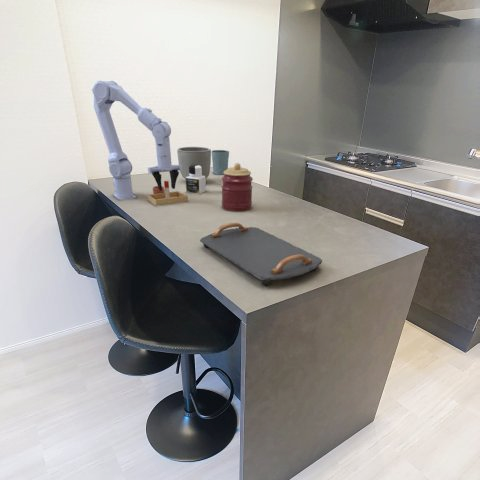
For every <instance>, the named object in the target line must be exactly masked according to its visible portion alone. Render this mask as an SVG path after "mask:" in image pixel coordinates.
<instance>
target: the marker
mask: <svg viewBox="0 0 480 480" xmlns="http://www.w3.org/2000/svg"><path fill="white" fill-rule="evenodd" d="M169 182H170V181H169V180H164V181H163V185H164V186H163V187H165V194H166V199H167V198H170V195H169V192H170V184H169Z"/></svg>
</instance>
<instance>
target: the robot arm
mask: <svg viewBox="0 0 480 480" xmlns="http://www.w3.org/2000/svg"><path fill="white" fill-rule="evenodd" d="M91 91H92V94H93V109H94V112H95V115H96V117H97V121H98V123H99V126H100V130H101V133H102V135H103V138H104V141H105V144H106V147H107V150H108V153H109V156H108V159H107V161H108V170H109V173H110V174H111V176H112V178H113V183H112V184H113V187H114V188H113V189H114V193H113V197H115V198H116V199H118V200H127V199H135V198H137V196H136V195H135V194H134V189H133V183H132V174H131V173H132V171H133V164H132V162H131V161H130V159H129V158H128V155H127V154H126V153H125V152H124V151H123V148H122V146H121V142H120V139H119V136H118V133H117V130H116V127H115V124H114V121H113V117H112V114H111V111H110V110H111V108H112V106H113V104H114V103H115V102H120V103H121V104H123V105H124V106H125V107H126V108H127V109H129V110H130V111H131V112H132V113H134V114H135V115H137V120H138V121H139V122H140V123H141V124H142V125H143V126H144V127H146V128H147V129H148V130H149V131H150V132H151V134H152V136H153V138H154V140H155V149H156V161H157V165H155V166H152V167H147V173H148V174H151V175H152V177H153V178H154V181H155V182H156V186H158V188H159V190H160V191H161V190H162V186H163V185H162V174H161V173H165V172H169V177H170V185H171V189H172V190H175V189H176V183H177V180H178V177H179V174H180V171H181V170H182V166H181V165H179V164H172V153H171V141H170V136H171V134H172V128H171V126H170V124H169V123H168V122H167V121H162V118H161V117H158V116H157V115H156V114H155V113H153V110H152V109H151V108H148V107H142V106H141V105H140V104H139V103H138V102H137V101H136V100H135V99H134V98H133V97H132V96H131V95H130V94H129V93H128V92H127V91H125V90H124V88H123V87H122V86H121V85H119V84H118V83H117V82H116V81H114V80H96V81H95V83H94V85H93V86H92V89H91Z"/></svg>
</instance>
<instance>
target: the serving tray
mask: <svg viewBox="0 0 480 480" xmlns="http://www.w3.org/2000/svg"><path fill="white" fill-rule="evenodd" d="M199 242H200V243H201V244H203V247H204V248H205V249H208V248H209V249H211V250H212V251H214V252H216V253H217V254H219V255H220V256H222V257H224V258H225V259H226V260H228V261H230V262H232V264H234V265H236V266H238V267H239V268H241V269H242V270H244V271H245V272H247V273H249V274H250V275H252V276H253V277H255V278H257V279H258V280H259V281H261V284H262V286H263V287H268V286H269V285H270V284H271V281H277V280H283V279H284V280H285V279H289V278H294V277H297V276H301V275H305V274H307V273H309V272H311V271H317V270H318V269H319V266H320V265H321V264H322V263H323V259H322V258H321V257H319V256H317V255H315V254H313V253H310V252H308V251H306V250H305V249H302V248H301V247H299V246H296V245H293V243H290V242H288V241H286V240H284V239H282V238H279V237H278V236H276V235H274V234H271V233H269V232H267V231H265V230H263V229H260V228H259V227H254V226H249V227H247V226H243V225H242V224H241V223H239V222H229V223H224V224H223V225H220V226H219V227H218V228H216V230H215V231H214V232H212V233H210V234H208V235H205V236H203V237H201V238H200V239H199Z"/></svg>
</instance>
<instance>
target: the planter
mask: <svg viewBox="0 0 480 480" xmlns="http://www.w3.org/2000/svg"><path fill="white" fill-rule="evenodd" d="M176 152H177V153H176V154H177V161H178V165H181V166H182V170H181V171H179V173H180V176H181V177H182V178H183V179H184V180H186V177H188V176H190V175H189V166H191V165H199V166H201V167H202V176H205V179H207V178H208V177H209V176H210V172H211V163H212V150H211V148H209V147H203V146H183V147H178V148H177V150H176Z"/></svg>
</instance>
